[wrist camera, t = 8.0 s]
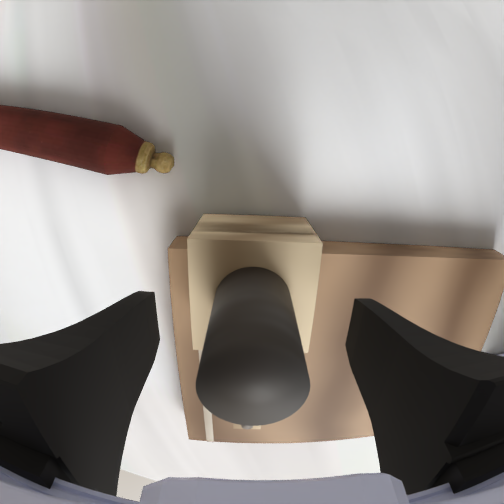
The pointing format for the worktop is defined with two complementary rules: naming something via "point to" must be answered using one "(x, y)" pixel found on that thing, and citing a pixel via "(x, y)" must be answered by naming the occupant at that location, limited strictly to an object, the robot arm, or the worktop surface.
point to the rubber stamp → (252, 314)
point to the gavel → (78, 142)
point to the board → (337, 324)
